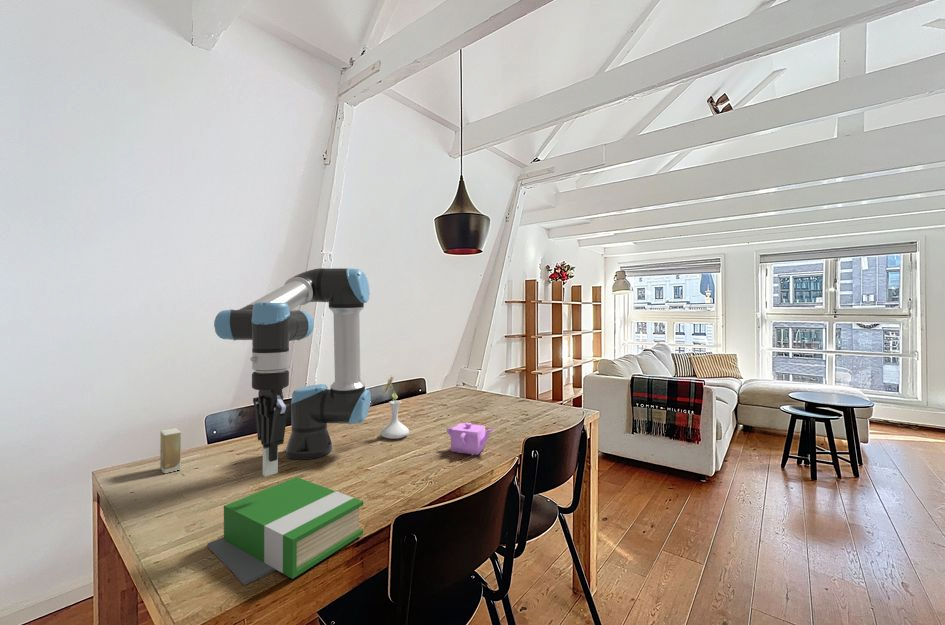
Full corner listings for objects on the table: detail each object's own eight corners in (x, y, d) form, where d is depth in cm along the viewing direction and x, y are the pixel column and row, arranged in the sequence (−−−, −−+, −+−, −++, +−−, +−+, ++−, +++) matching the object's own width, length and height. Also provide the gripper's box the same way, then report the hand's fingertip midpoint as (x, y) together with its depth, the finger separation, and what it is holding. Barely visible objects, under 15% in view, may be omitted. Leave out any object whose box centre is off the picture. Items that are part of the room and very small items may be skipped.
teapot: (498, 448, 148) (499, 421, 147) (488, 462, 134) (488, 432, 134) (453, 443, 153) (453, 416, 153) (438, 455, 140) (438, 426, 140)
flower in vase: (386, 431, 166) (386, 371, 166) (412, 432, 165) (413, 372, 165) (374, 441, 154) (374, 376, 153) (402, 443, 152) (403, 377, 152)
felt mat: (207, 546, 86) (207, 543, 86) (305, 507, 103) (305, 504, 103) (244, 585, 74) (244, 582, 74) (348, 534, 91) (348, 531, 91)
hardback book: (296, 476, 103) (363, 501, 90) (296, 505, 103) (363, 533, 90) (223, 505, 87) (292, 539, 75) (223, 539, 88) (292, 578, 75)
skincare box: (159, 469, 126) (159, 430, 126) (176, 465, 129) (176, 427, 129) (163, 475, 122) (163, 434, 122) (181, 470, 125) (181, 431, 125)
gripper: (241, 369, 92) (240, 471, 93) (266, 375, 84) (266, 487, 84) (274, 365, 98) (273, 461, 98) (301, 371, 90) (300, 476, 90)
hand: (270, 473), depth 91 cm, fingers closed
